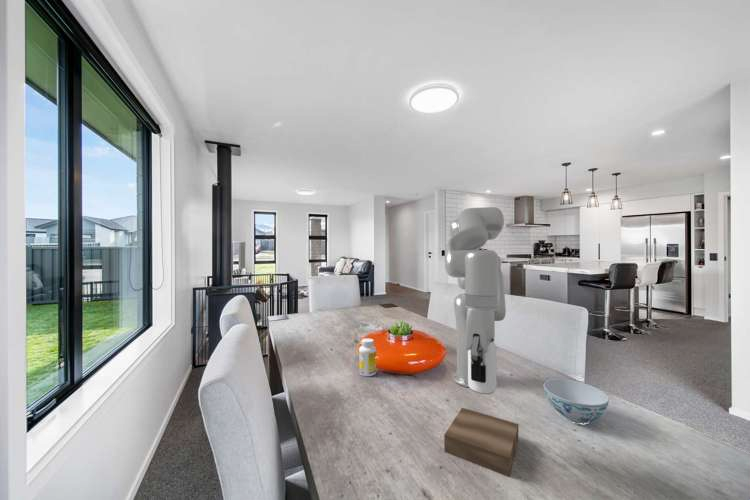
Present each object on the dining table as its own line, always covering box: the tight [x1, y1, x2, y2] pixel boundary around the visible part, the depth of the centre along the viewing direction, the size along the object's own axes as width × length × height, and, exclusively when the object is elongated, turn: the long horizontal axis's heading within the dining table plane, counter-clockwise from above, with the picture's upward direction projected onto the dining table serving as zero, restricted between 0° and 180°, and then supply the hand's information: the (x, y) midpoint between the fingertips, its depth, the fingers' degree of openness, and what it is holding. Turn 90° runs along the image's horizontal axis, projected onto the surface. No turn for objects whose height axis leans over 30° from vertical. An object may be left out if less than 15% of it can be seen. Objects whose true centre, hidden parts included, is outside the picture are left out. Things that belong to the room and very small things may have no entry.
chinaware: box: [543, 378, 610, 424], centre depth 81 cm, size 15×15×8 cm
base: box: [443, 407, 519, 478], centre depth 70 cm, size 14×14×4 cm
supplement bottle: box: [358, 338, 378, 377], centre depth 112 cm, size 7×7×13 cm
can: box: [468, 338, 498, 395], centre depth 70 cm, size 6×6×12 cm
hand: (482, 375), depth 70 cm, fingers closed on can, 6 cm apart
